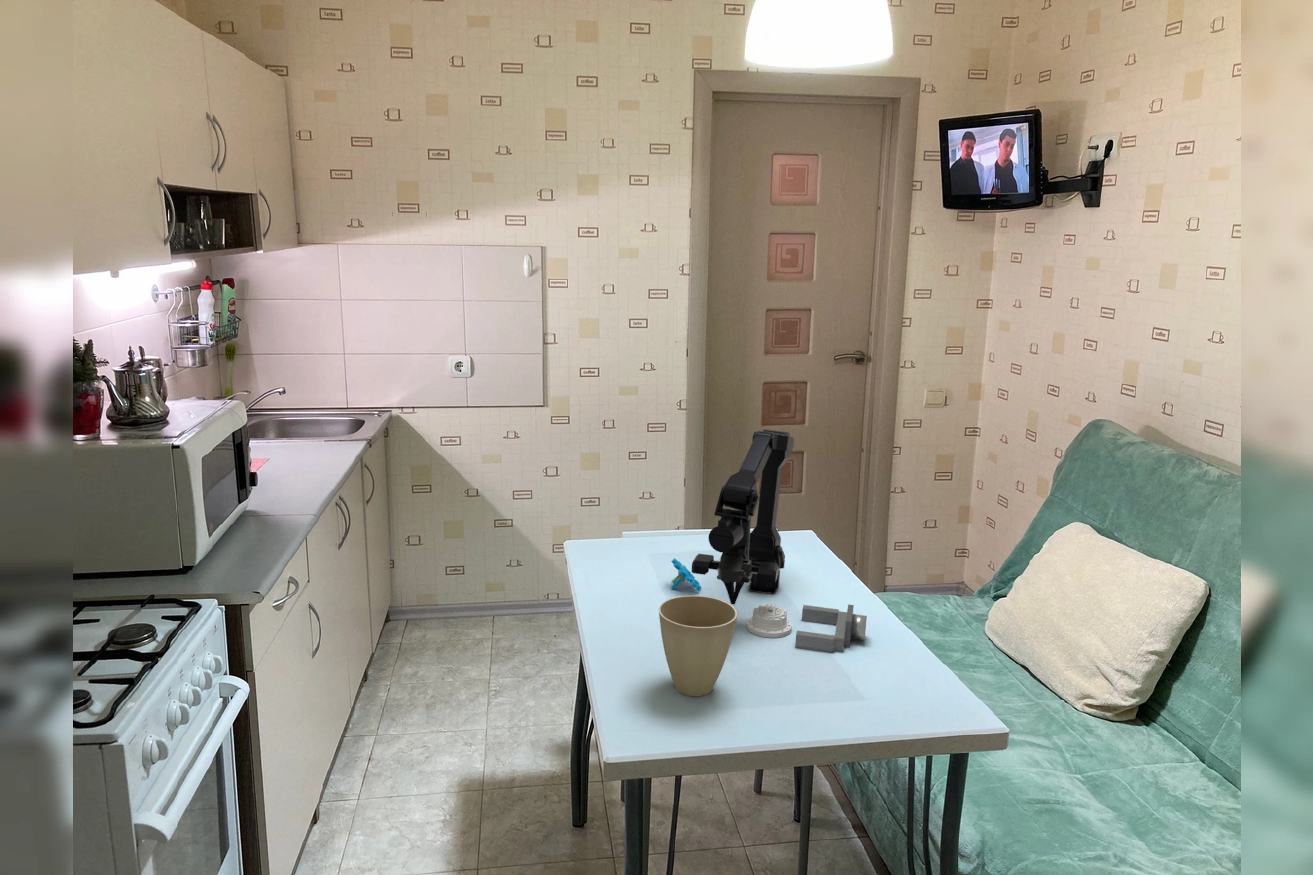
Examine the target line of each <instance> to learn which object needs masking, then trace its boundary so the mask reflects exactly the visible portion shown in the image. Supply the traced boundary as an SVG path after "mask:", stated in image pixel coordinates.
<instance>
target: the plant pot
mask: <svg viewBox="0 0 1313 875" xmlns="http://www.w3.org/2000/svg"><path fill="white" fill-rule="evenodd" d="M737 617H738V611H737V609H736V608H735V607H734V606H733V604H731V603H728V602H727V601H725V600H722V599H720V598H716V597H713V596H712V597H711V596H705V595H682V596H681V595H680V596H675V597H671V598H669V599H666V600H664V601H663V602H662V603H660V605H659V606H658V618H659V626H660V634H661V638H662V645H663V650H664V654H665V659H666V663H667V666H668V669H669V673H670V676H671V680H672V683H673V685H674V688H675V689H676V690H677V692H679V693H681V694H682V695H686V696H689V697H702V696H705V695H708V694H710V693H711V692H712V691H713V689H714V687H715V685H716V684H717V681H718V679H719V676H720V675H721V672H722V670H723V667H724V664H725V661H726V659H727V655H728V654H729V651H730V647H731V643H732V641H733V640H732V639H733V636H734V632H735V627H736V623H737Z"/></svg>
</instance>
